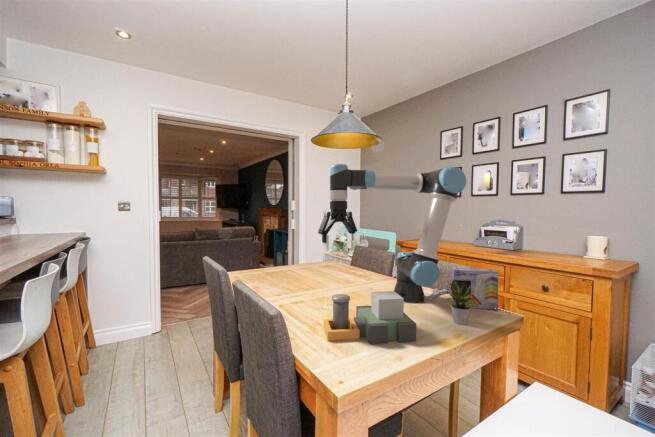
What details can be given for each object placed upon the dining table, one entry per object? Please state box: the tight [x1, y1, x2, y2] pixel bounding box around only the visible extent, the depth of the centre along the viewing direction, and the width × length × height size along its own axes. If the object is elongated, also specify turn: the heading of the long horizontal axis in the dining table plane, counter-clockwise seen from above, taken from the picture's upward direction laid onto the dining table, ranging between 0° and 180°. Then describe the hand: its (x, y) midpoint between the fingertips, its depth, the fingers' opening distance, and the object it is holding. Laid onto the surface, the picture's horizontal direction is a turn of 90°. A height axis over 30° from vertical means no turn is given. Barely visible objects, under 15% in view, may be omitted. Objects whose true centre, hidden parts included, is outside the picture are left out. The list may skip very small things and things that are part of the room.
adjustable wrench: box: [423, 288, 448, 304], centre depth 144 cm, size 25×6×2 cm, turn 137°
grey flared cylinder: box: [331, 293, 351, 330], centre depth 100 cm, size 6×6×13 cm
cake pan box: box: [450, 266, 499, 311], centre depth 128 cm, size 19×5×18 cm, turn 72°
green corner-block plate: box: [323, 290, 417, 345], centre depth 102 cm, size 30×19×13 cm, turn 98°
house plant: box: [444, 281, 479, 326], centre depth 111 cm, size 14×14×16 cm
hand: (338, 249), depth 123 cm, fingers open, 13 cm apart
